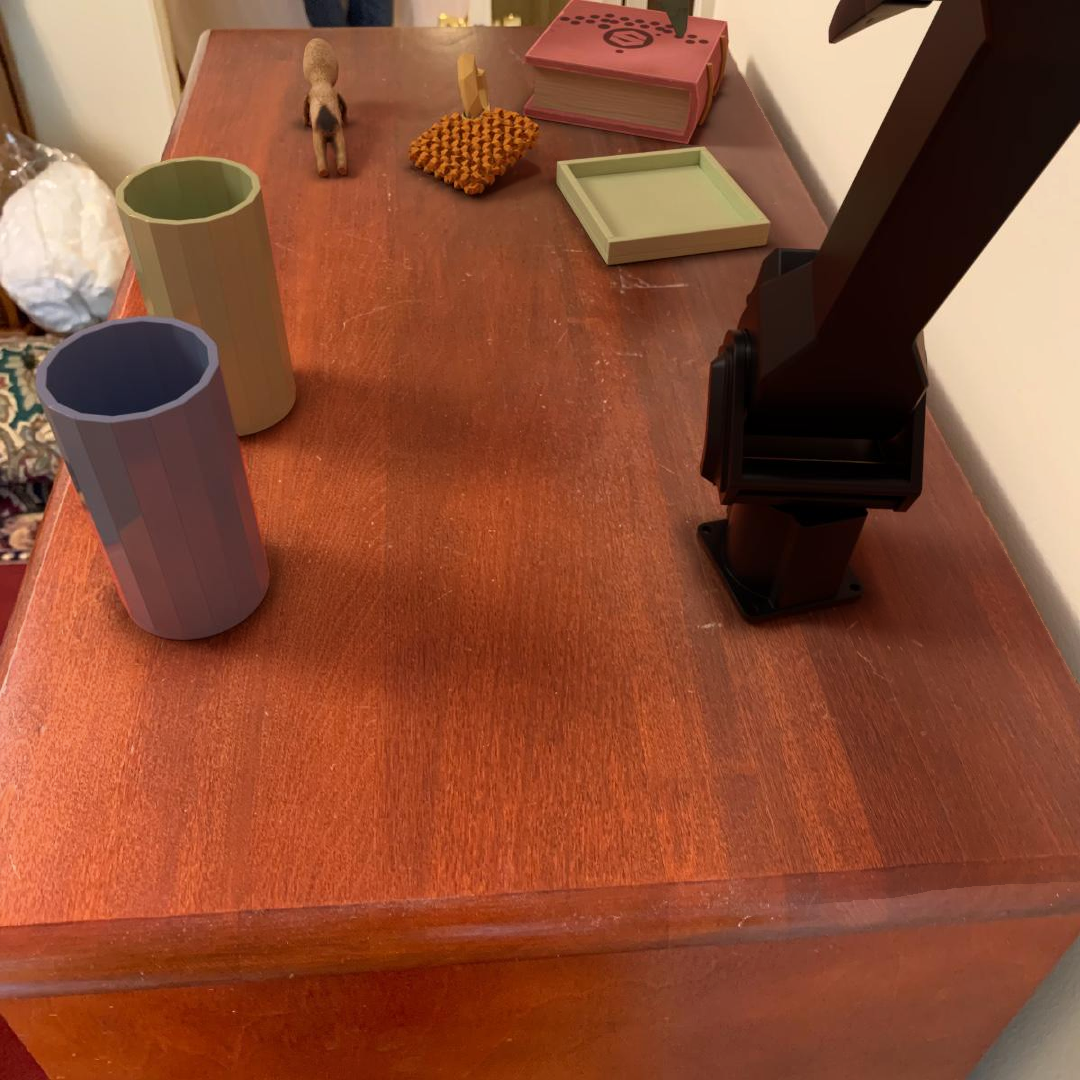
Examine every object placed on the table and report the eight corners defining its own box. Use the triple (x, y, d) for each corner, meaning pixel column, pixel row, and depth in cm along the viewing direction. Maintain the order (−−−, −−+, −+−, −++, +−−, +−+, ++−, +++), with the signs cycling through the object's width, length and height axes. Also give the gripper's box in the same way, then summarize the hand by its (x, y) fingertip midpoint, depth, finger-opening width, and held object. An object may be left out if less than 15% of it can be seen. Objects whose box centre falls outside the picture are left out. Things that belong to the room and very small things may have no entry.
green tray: (766, 245, 73) (771, 222, 71) (607, 265, 70) (609, 242, 69) (701, 167, 81) (704, 146, 79) (555, 183, 78) (557, 161, 77)
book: (698, 145, 83) (707, 84, 80) (523, 115, 86) (524, 55, 83) (727, 80, 93) (737, 22, 89) (568, 55, 96) (572, -2, 92)
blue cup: (277, 623, 47) (224, 405, 38) (125, 653, 46) (31, 434, 36) (262, 523, 52) (212, 306, 42) (123, 547, 50) (39, 328, 41)
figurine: (359, 196, 80) (342, 78, 87) (354, 148, 76) (337, 28, 83) (311, 200, 79) (299, 80, 86) (304, 151, 75) (291, 30, 83)
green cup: (303, 426, 57) (266, 215, 48) (178, 445, 56) (115, 231, 46) (289, 356, 62) (253, 150, 52) (173, 372, 60) (114, 163, 51)
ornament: (533, 140, 72) (529, 16, 79) (391, 164, 73) (401, 41, 81) (550, 214, 77) (545, 92, 85) (418, 235, 79) (425, 113, 87)
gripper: (1032, -335, 47) (905, -78, 62) (633, -355, 47) (605, -92, 62) (1043, -125, 45) (910, 86, 61) (628, -145, 45) (600, 72, 60)
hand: (755, 33), depth 61 cm, fingers open, 9 cm apart
